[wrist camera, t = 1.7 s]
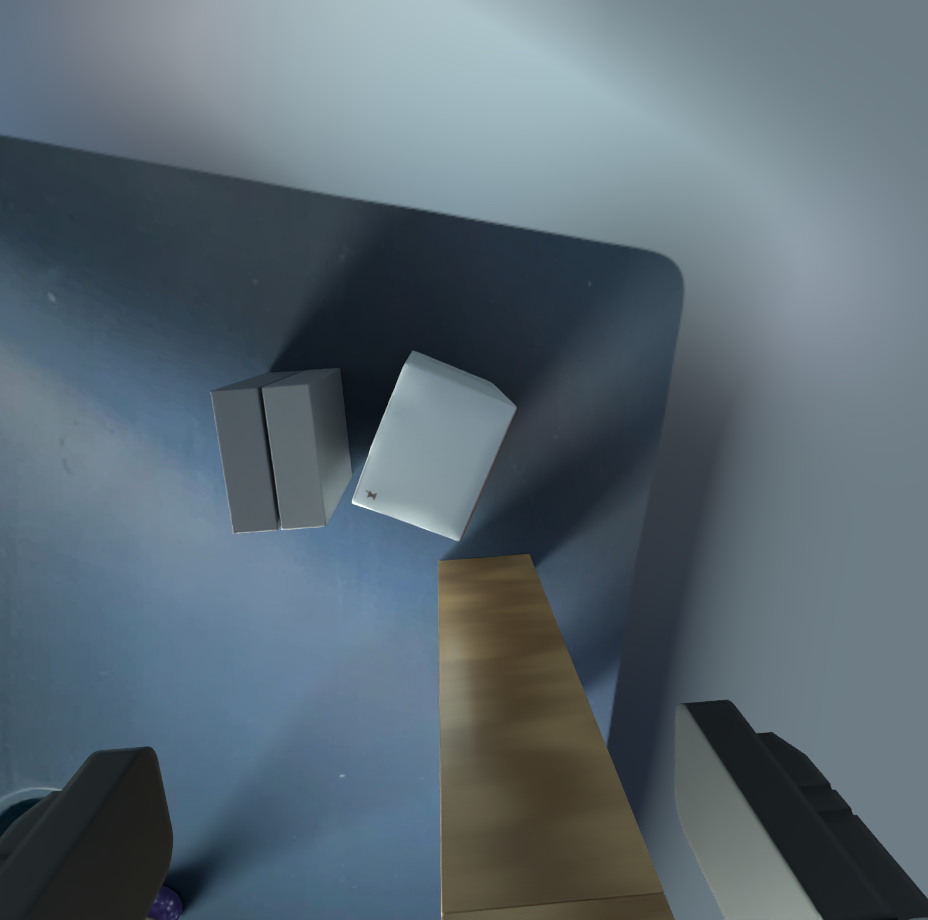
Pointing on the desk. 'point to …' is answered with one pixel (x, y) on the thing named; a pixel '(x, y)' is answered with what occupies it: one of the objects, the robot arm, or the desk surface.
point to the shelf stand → (523, 754)
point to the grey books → (283, 449)
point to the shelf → (580, 910)
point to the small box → (435, 447)
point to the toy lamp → (165, 906)
